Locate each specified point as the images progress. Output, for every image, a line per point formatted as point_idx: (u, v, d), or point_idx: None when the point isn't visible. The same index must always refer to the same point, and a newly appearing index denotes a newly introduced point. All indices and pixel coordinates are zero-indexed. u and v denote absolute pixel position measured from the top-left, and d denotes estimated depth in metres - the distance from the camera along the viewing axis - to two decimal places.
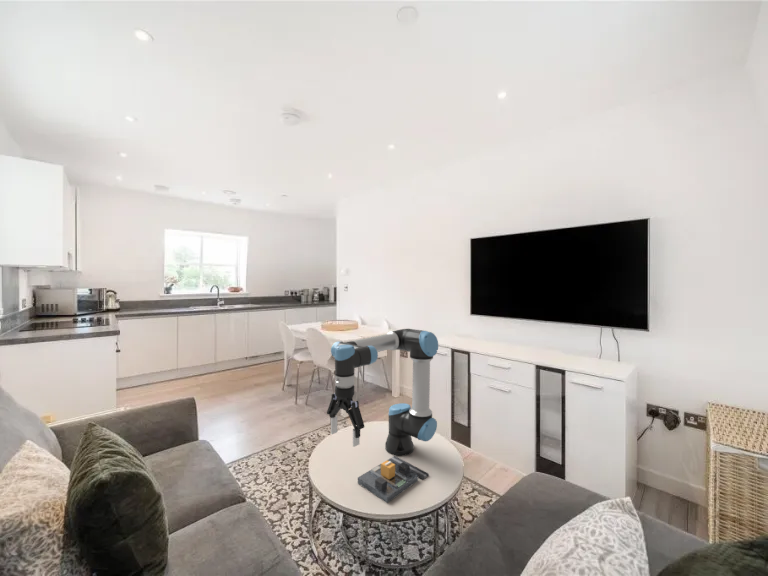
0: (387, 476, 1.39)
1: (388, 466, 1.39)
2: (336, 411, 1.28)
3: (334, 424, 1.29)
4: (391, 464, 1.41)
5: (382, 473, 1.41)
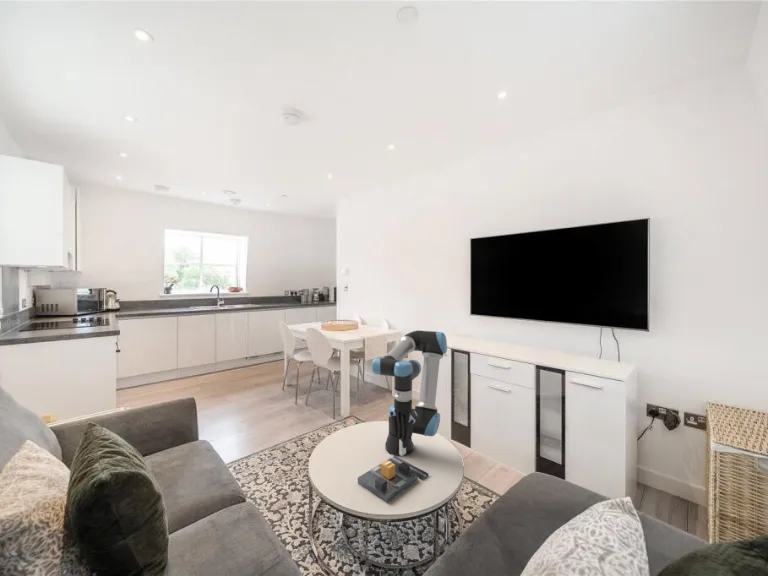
0: (387, 476, 1.39)
1: (388, 466, 1.39)
2: (401, 428, 1.35)
3: None
4: (391, 464, 1.41)
5: (382, 473, 1.41)
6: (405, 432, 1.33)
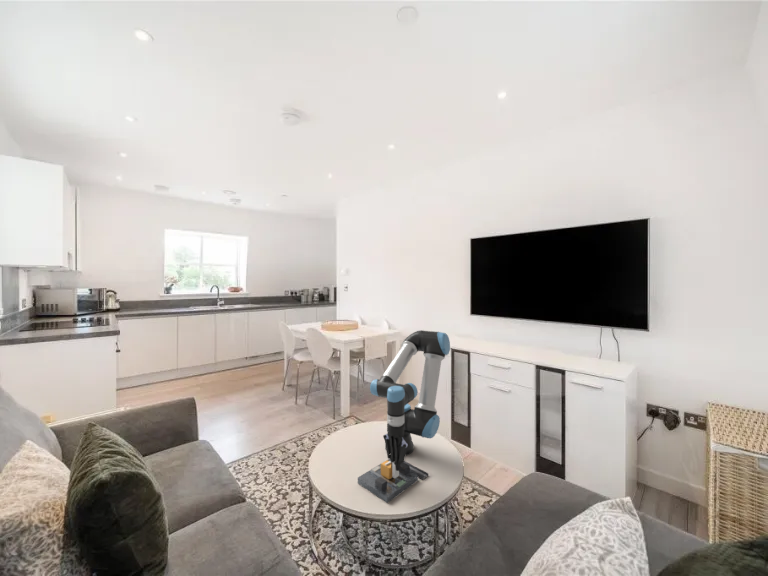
0: (387, 476, 1.39)
1: (388, 466, 1.39)
2: (394, 452, 1.39)
3: None
4: None
5: (382, 473, 1.41)
6: (398, 455, 1.37)
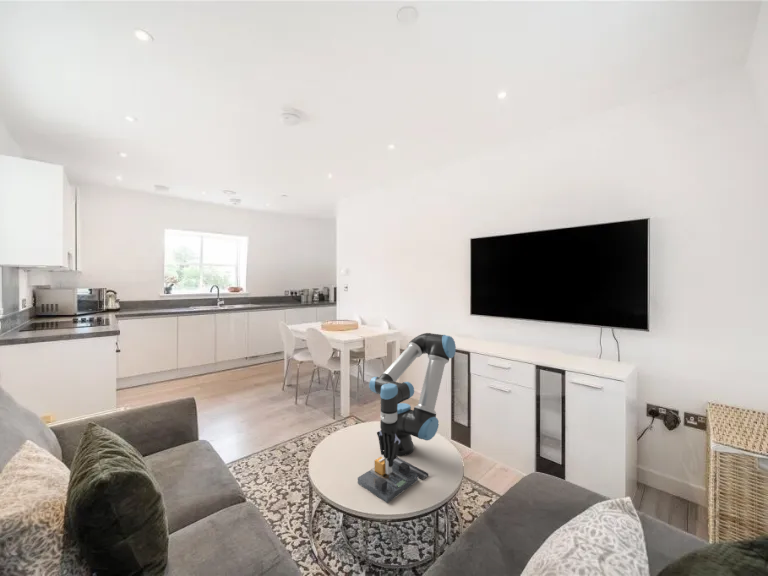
0: (381, 472, 1.42)
1: (382, 462, 1.42)
2: (387, 448, 1.41)
3: None
4: None
5: (376, 469, 1.44)
6: (391, 452, 1.39)
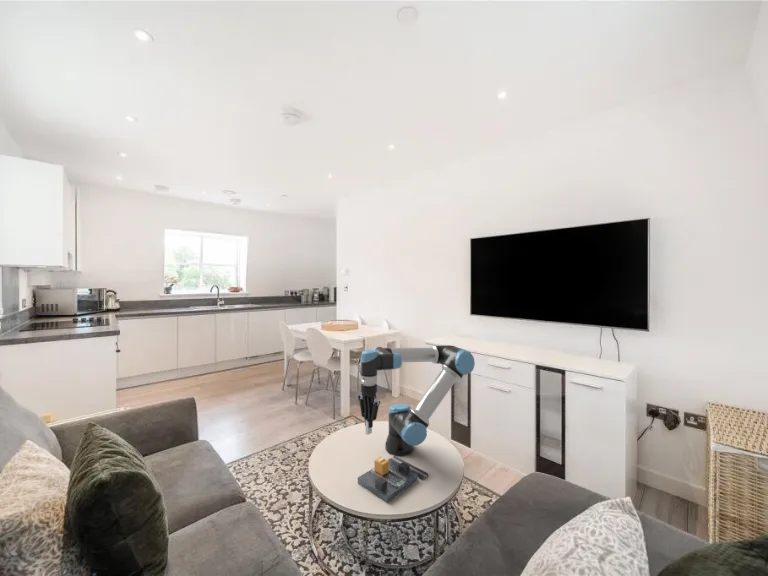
0: (380, 472, 1.42)
1: (382, 462, 1.42)
2: (367, 410, 1.50)
3: None
4: (385, 460, 1.44)
5: (376, 469, 1.44)
6: (370, 413, 1.48)
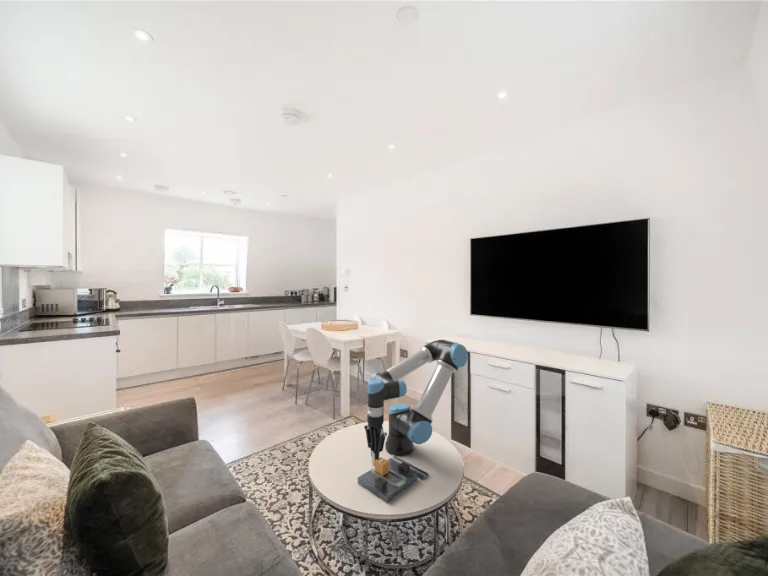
0: (381, 472, 1.41)
1: (382, 463, 1.42)
2: None
3: None
4: (385, 461, 1.44)
5: (376, 469, 1.43)
6: (377, 445, 1.45)
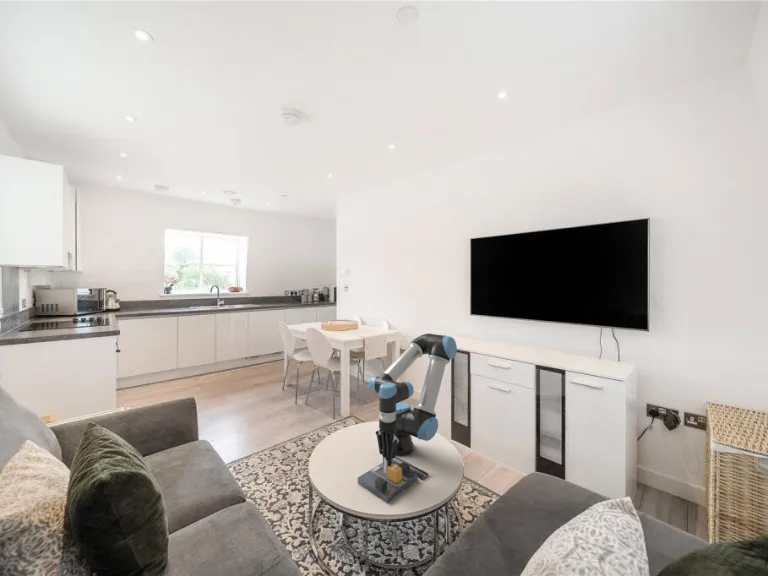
0: (394, 480, 1.36)
1: (395, 470, 1.37)
2: (386, 447, 1.42)
3: None
4: (398, 468, 1.38)
5: (388, 477, 1.38)
6: (389, 451, 1.40)
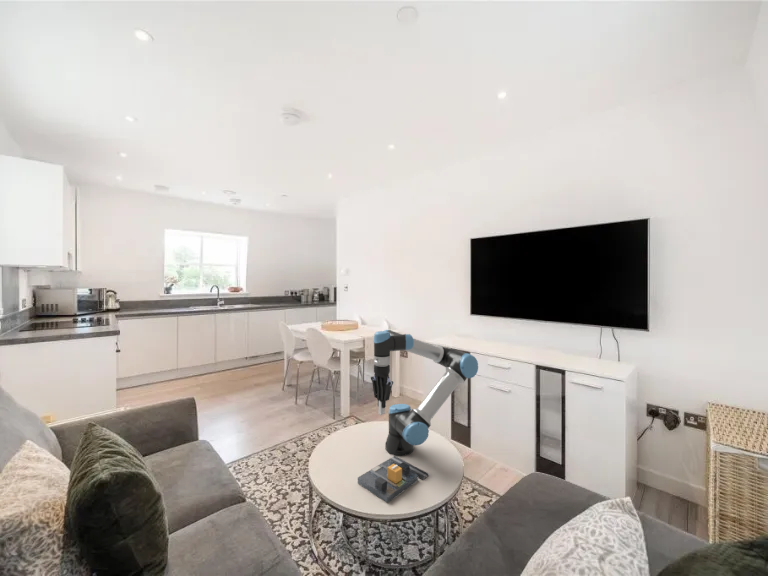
0: (394, 480, 1.36)
1: (395, 470, 1.37)
2: (380, 391, 1.51)
3: None
4: (398, 468, 1.38)
5: (389, 477, 1.38)
6: (383, 394, 1.49)
